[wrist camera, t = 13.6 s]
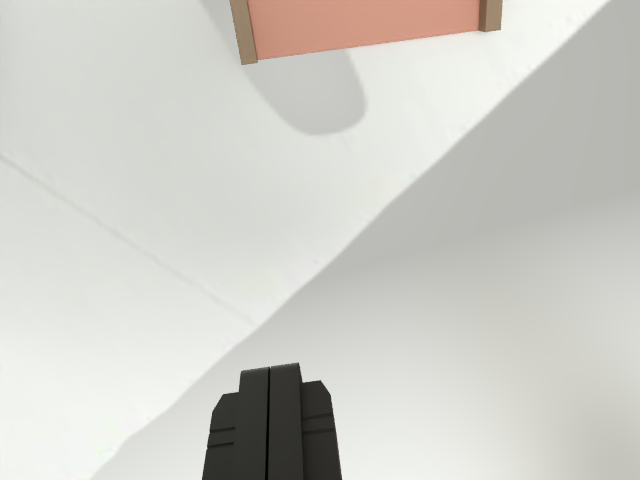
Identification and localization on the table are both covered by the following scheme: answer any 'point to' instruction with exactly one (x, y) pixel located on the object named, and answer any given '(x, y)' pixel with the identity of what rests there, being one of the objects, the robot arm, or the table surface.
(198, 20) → the table surface
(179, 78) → the table surface
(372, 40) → the tray
